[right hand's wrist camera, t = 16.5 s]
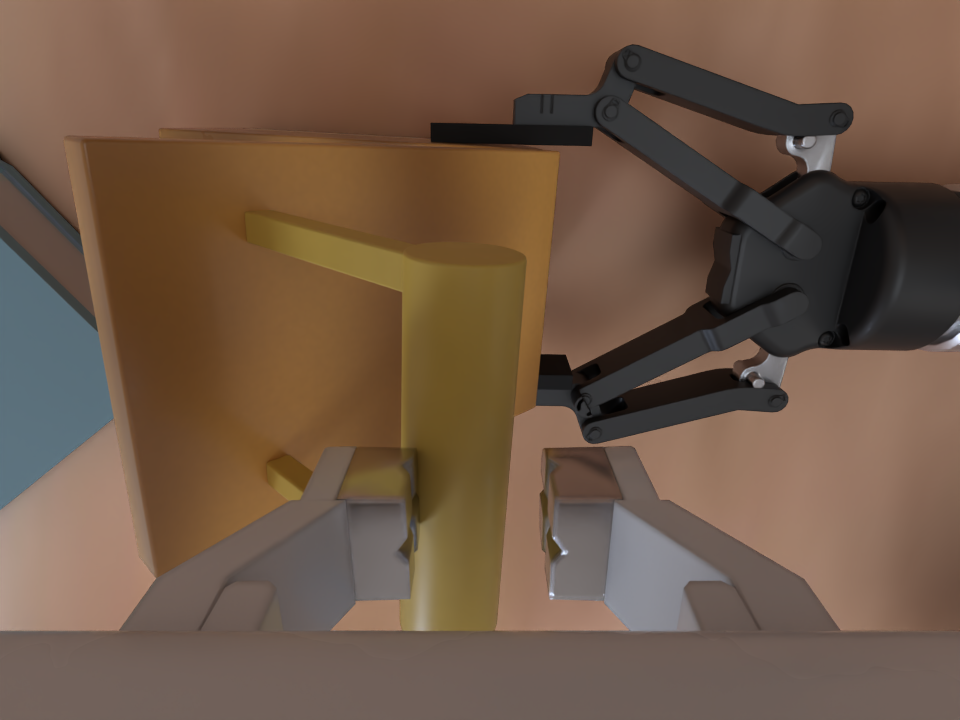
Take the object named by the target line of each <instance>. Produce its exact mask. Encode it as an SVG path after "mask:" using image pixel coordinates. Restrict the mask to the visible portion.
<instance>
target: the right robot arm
mask: <svg viewBox="0 0 960 720" xmlns="http://www.w3.org/2000/svg"><path fill="white" fill-rule="evenodd" d="M541 475H542V482H543V488H544V490H543V491H542V492H541V493H540V508H539V518H540V537H541V546H542V550H543V551H544V552H545V573H546V580H547V586H548V592H549V599H560V600H597V601H604V603H605V604H606V606H607V607H608V608H609V609H610V610H611V611H612V612H613V613H614V614H615V615H616V616H617V617H618V618H619V619H620V620H621V622H622V623H623V624H624V625H625V626H626V627H627V628H628V629H629V630H630V631H330V630H331V629H332V628H333V627H334V626H335V625H336V624H337V623H338V622H339V621H340V620H341V618H342V617H343V616H344V615H345V614H346V613H347V612H348V611H349V610H350V609H351V608H352V607H353V606H354V605H355V601H363V600H398V599H410V598H411V591H412V585H413V578H414V572H415V557H414V553H415V552H416V551H417V550H418V544H419V535H420V501H419V496H418V494H417V493H416V487H417V480H418V452H417V448H401V447H358V448H357V447H356V446H339V447H327V448H325V449H324V451H323V453H322V455H321V457H320V459H319V461H318V463H317V465H316V467H315V469H314V472H313V474H312V476H311V478H310V480H309V482H308V484H307V486H306V488H305V490H304V492H303V494H302V496H301V499H300V500H290V501H288V502H287V503H285V504H283V505H282V506H280V507H278V508H276V509H275V510H273V511H271V512H270V513H268V514H266V515H264V516H263V517H261V518H259V519H257V520H256V521H254V522H252V523H251V524H249V525H247V526H245V527H244V528H242V529H240V530H239V531H237V532H235V533H233V534H232V535H230V536H228V537H227V538H225V539H223V540H221V541H220V542H218V543H216V544H215V545H213V546H211V547H209V548H208V549H206V550H204V551H202V552H201V553H199V554H197V555H196V556H194V557H192V558H190V559H189V560H187V561H185V562H184V563H182V564H180V565H178V566H177V567H175V568H173V569H172V570H170V571H168V572H166V573H165V574H163V575H161V576H160V577H158V578H156V580H155V581H154V582H153V584H152V585H151V587H150V588H149V589H148V591H147V592H146V594H145V595H144V596H143V598H142V599H141V601H140V602H139V603H138V605H137V606H136V608H135V609H134V610H133V612H132V613H131V615H130V616H129V617H128V619H127V620H126V622H125V623H124V624H123V626H122V627H121V629H120V630H119V631H0V720H960V631H841V630H840V629H839V628H838V626H837V625H836V623H835V622H834V620H833V619H832V618H831V616H830V615H829V613H828V612H827V611H826V609H825V608H824V606H823V605H822V604H821V602H820V601H819V599H818V598H817V596H816V595H815V594H814V592H813V591H812V589H811V588H810V587H809V585H808V584H807V582H806V581H805V580H804V579H803V578H801V577H800V576H798V575H796V574H795V573H793V572H791V571H789V570H788V569H786V568H784V567H783V566H781V565H779V564H777V563H776V562H774V561H772V560H771V559H769V558H767V557H765V556H764V555H762V554H760V553H759V552H757V551H755V550H753V549H752V548H750V547H748V546H747V545H745V544H743V543H742V542H740V541H738V540H736V539H735V538H733V537H731V536H730V535H728V534H726V533H724V532H723V531H721V530H719V529H718V528H716V527H714V526H712V525H711V524H709V523H707V522H706V521H704V520H702V519H700V518H699V517H697V516H695V515H694V514H692V513H690V512H688V511H687V510H685V509H683V508H682V507H680V506H678V505H676V504H675V503H673V502H671V501H670V500H660V499H659V497H658V495H657V493H656V491H655V489H654V487H653V485H652V483H651V481H650V479H649V477H648V474H647V472H646V470H645V468H644V466H643V464H642V462H641V460H640V458H639V456H638V454H637V452H636V450H635V448H633V447H632V446H618V447H573V448H544V449H543V450H542V458H541Z"/></svg>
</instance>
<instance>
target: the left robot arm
mask: <svg viewBox="0 0 960 720" xmlns="http://www.w3.org/2000/svg"><path fill="white" fill-rule="evenodd" d="M634 90H637V91H640V92H643V93H645V94H648V95H651V96H654V97H656V98H659V99H662V100H665V101H668V102H670V103H673V104H676V105H679V106H681V107H684V108H687V109H690V110H692V111H695V112H698V113H701V114H703V115H706V116H709V117H712V118H715V119H717V120H720V121H723V122H726V123H728V124H731V125H734V126H737V127H739V128H742V129H745V130H748V131H751V132H755V133H758V134H765V135H777V138H776V146H777V149H778V151H779V152H780V153H782V154H785V155H788V156H791V157H792V158H794V160H795V161H796V164H797V171H795V172H793V173H791V174H789V175H788V176H786V177H785V178H783V179H782V180H780V181H779V182H777V183H775V184H774V185H772V186H771V187H769V188H768V189H766V190H765V191H763V192H761V193H760V194H759V193H758V192H756V191H755V190H753V189H752V188H750V187H748V186H747V185H745V184H743V183H741V182H739V181H737V180H736V179H735V178H733V177H732V176H730V175H729V174H727V173H726V172H725V171H723V170H722V169H720V168H719V167H718V166H716V165H715V164H713V163H712V162H710V161H709V160H708V159H706V158H705V157H703V156H702V155H700V154H699V153H698V152H696V151H695V150H693V149H692V148H691V147H689V146H688V145H686V144H685V143H683V142H682V141H681V140H679V139H678V138H676V137H675V136H673V135H672V134H671V133H669V132H668V131H666V130H665V129H664V128H662V127H661V126H659V125H658V124H656V123H655V122H654V121H652V120H651V119H649V118H648V117H646V116H645V115H644V114H642V113H641V112H639V111H638V110H637V109H635V108H634V107H632V106H631V105H629V104H628V102H629V100H630V98H631V95H632V93H633V91H634ZM852 121H853V110H852V108H851V107H850V106H849V105H848V104H846V103H820V104H796V103H793V102H790V101H788V100H785V99H782V98H780V97H777V96H774V95H772V94H769V93H766V92H763V91H761V90H758V89H755V88H753V87H750V86H747V85H745V84H742V83H739V82H736V81H734V80H731V79H728V78H726V77H723V76H720V75H718V74H715V73H712V72H709V71H707V70H704V69H701V68H699V67H696V66H693V65H691V64H688V63H685V62H682V61H680V60H677V59H674V58H672V57H669V56H666V55H664V54H661V53H658V52H655V51H653V50H650V49H647V48H645V47H642V46H639V45H633V44H632V45H629V46H626V47H624V48H622V49H621V50H619V51H617V52H615V53H613V54H612V55H611V56H610V57H609V58H608V60H607V62H606V66H605V70H604V73H603V75H602V78H601V80H600V82H599V84H598V86H597V88H596V89H595V90H594V91H593V92H592V93H591V94H589V95H558V94H526V95H524V96H522V97H519V98H517V99H515V100H514V104H513V125H512V124H463V123H431V142H440V143H465V144H514V145H563V146H592V136H593V127H595V128H596V129H598V130H599V131H601V132H602V133H604V134H605V135H607V136H608V137H609V138H611V139H612V140H614V141H615V142H617V143H618V144H620V145H621V146H623V147H624V148H626V149H627V150H628V151H630V152H631V153H633V154H634V155H636V156H637V157H639V158H640V159H642V160H643V161H645V162H646V163H647V164H649V165H650V166H652V167H653V168H655V169H656V170H658V171H659V172H661V173H662V174H663V175H665V176H666V177H668V178H669V179H671V180H672V181H674V182H675V183H677V184H678V185H680V186H681V187H682V188H684V189H685V190H687V191H688V192H690V193H691V194H693V195H694V196H696V197H697V198H698V199H700V200H701V201H702V202H703V203H704V204H706V205H707V206H708V207H710V208H711V209H713V210H714V211H716V212H717V213H719V214H720V215H722V216H723V217H724V218H725V220H724V221H723V223H722V225H721V227H716V229H715V235H714V241H713V247H714V257H715V261H714V264H713V266H712V268H711V270H710V273H709V275H708V279H707V285H706V291H705V292H706V293H707V294H708V295H709V297H708V298H706V299H704V300H702V301H700V302H698V303H696V304H694V305H692V306H690V307H689V308H688V309H687V310H686V312H685V313H684V314H683V315H681V316H679V317H677V318H675V319H673V320H671V321H669V322H667V323H665V324H663V325H661V326H659V327H657V328H655V329H653V330H651V331H649V332H647V333H645V334H643V335H641V336H639V337H637V338H635V339H633V340H631V341H629V342H627V343H625V344H623V345H621V346H619V347H617V348H615V349H613V350H611V351H609V352H608V353H606V354H604V355H602V356H600V357H598V358H596V359H594V360H592V361H590V362H588V363H586V364H584V365H582V366H580V367H578V368H576V369H574V370H572V371H571V368H570V366H569V363H568V360H567V357H566V355H554V354H541V356H540V366H539V377H538V387H537V398H536V406H566V407H569V408H570V409H572V410H573V411H574V412H575V414H576V416H577V419H578V422H579V425H580V429H581V432H582V435H583V437H584V439H585V440H586V441H587V442H588V443H592V444H598V443H602V442H606V441H610V440H614V439H618V438H623V437H627V436H631V435H635V434H639V433H644V432H648V431H652V430H656V429H660V428H664V427H669V426H673V425H677V424H681V423H685V422H689V421H694V420H698V419H702V418H706V417H710V416H715V415H719V414H723V413H727V412H731V411H735V410H747V411H761V412H778V411H780V410H782V409H783V408H784V407H785V406H786V405H787V403H788V395H787V393H786V392H784V391H783V390H782V389H781V388H780V385H781V382H782V378H783V375H784V371H785V368H786V364H787V360H788V357H792V356H795V355H797V354H799V353H801V352H804V351H806V350H810V349H814V348H827V349H845V350H899V351H907V350H915V349H920V350H925V351H931V352H960V184H946V185H943V186H941V185H938V184H934V183H905V182H855V181H845V180H843V179H841V178H840V177H838V176H837V175H836V174H834V173H832V172H830V170H831V164H832V158H833V152H834V146H835V140H836V135H838V134H842V133H843V132H845V131H846V130H847V129H848V128H849V127H850V125H851V124H852ZM748 338H750V339H751V340H752V341H754V342H755V343H756V344H757V345H759V346H760V347H761V348H760V350H759V352H758V354H757V355H756V356H754V357H753V358H751V359H746V360H738V361H736V362H735V363H734V365H733V368H723V369H714V370H709V371H705V372H700V373H696V374H692V375H688V376H684V377H680V378H676V379H672V380H668V381H664V382H660V383H656V384H652V385H648V386H644V387H640V388H636V387H638V386H640V385H642V384H644V383H646V382H648V381H650V380H652V379H654V378H656V377H658V376H660V375H662V374H664V373H666V372H668V371H671V370H673V369H675V368H677V367H679V366H681V365H683V364H685V363H687V362H689V361H691V360H693V359H695V358H697V357H699V356H701V355H703V354H705V353H707V352H710V351H722V350H725V349H728V348H730V347H732V346H734V345H736V344H738V343H740V342H742V341H744V340H746V339H748ZM634 388H636V389H634ZM631 389H632V390H631Z"/></svg>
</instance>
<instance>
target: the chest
mask: <svg viewBox="0 0 960 720" xmlns="http://www.w3.org/2000/svg"><path fill="white" fill-rule="evenodd" d="M159 137H160V138H164V139H198V140H232V141H265V142H299V143H332V144H366V145H400V146H433V147H467V148H500V149H534V150H542V149H537V148H532V147H528V146H523V145H514V144H465V143H440V142H431V139H429V138H412V137H394V136H377V135H359V134H341V133H324V132H306V131H289V130H271V129H254V128H243V129H226V128H160V129H159Z"/></svg>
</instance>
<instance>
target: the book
mask: <svg viewBox="0 0 960 720" xmlns="http://www.w3.org/2000/svg"><path fill="white" fill-rule="evenodd" d="M113 418H114V416H113V411H112V405H111V400H110V394H109V389H108V383H107V378H106V372H105V367H104V361H103V356H102V350H101V345H100V339H99V334H98V328H97V323H96V317H95V312H94V306H93V301H92V295H91V290H90V284H89V279H88V273H87V268H86V262H85V257H84V252H83V246H82V241H81V235H80V234H79V233H78V232H77V231H76V230H75V229H74V228H73V227H72V226H71V225H70V224H69V223H68V222H67V221H66V220H65V219H64V218H63V217H62V216H61V215H60V214H59V213H58V212H57V211H56V210H55V209H54V208H53V207H52V206H51V205H50V204H49V203H48V202H47V201H46V200H45V199H44V198H43V197H42V196H41V195H40V194H39V193H38V192H37V191H36V190H35V189H34V188H33V187H32V186H31V185H30V184H29V183H28V181H27V180H26V179H25V178H24V177H23V176H22V175H21V174H20V173H19V172H18V171H17V170H16V169H15V168H14V167H13V166H11V165H9V164H7V163H5V162H3V161H2V160H0V510H1V509H2V508H3V507H4V506H6V505H7V504H8V503H9V502H11V501H12V500H13V499H14V498H15V497H17V496H18V495H19V494H20V493H22V492H23V491H24V490H25V489H27V488H28V487H29V486H30V485H32V484H33V483H34V482H35V481H37V480H38V479H39V478H40V477H41V476H43V475H44V474H45V473H46V472H48V471H49V470H50V469H51V468H53V467H54V466H55V465H56V464H58V463H59V462H60V461H61V460H63V459H64V458H65V457H66V456H67V455H69V454H70V453H71V452H72V451H74V450H75V449H76V448H77V447H79V446H80V445H81V444H82V443H84V442H85V441H86V440H87V439H89V438H90V437H91V436H92V435H93V434H95V433H96V432H97V431H98V430H100V429H101V428H102V427H103V426H105V425H106V424H107V423H108V422H110V421H111V420H112V419H113Z"/></svg>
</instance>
